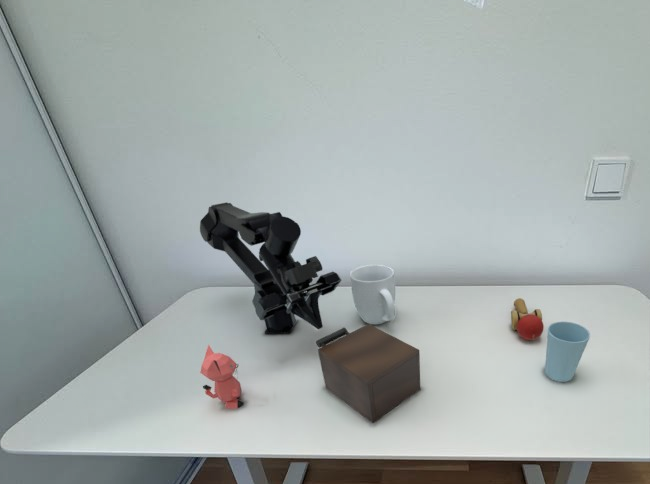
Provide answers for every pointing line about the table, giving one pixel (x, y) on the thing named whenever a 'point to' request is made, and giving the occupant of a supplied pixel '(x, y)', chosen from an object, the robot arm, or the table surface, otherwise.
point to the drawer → (331, 338)
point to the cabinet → (371, 370)
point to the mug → (374, 292)
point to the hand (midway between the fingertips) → (320, 328)
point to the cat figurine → (222, 378)
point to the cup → (564, 349)
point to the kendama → (526, 321)
